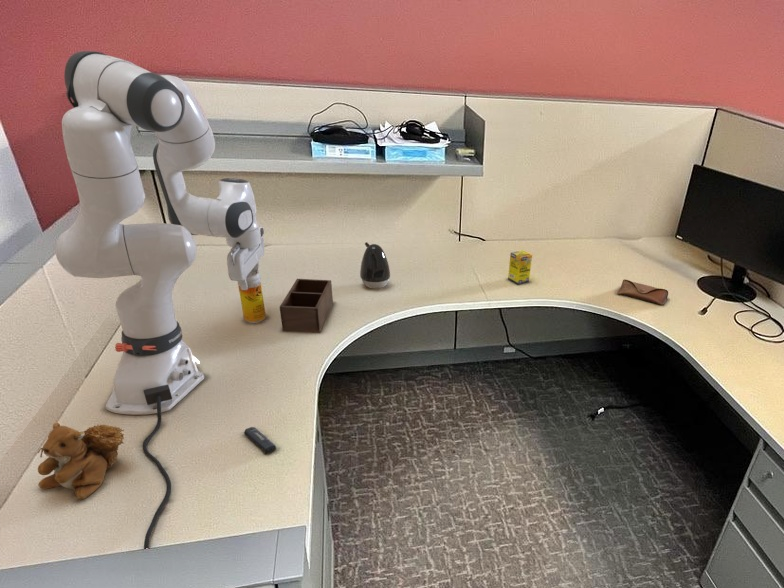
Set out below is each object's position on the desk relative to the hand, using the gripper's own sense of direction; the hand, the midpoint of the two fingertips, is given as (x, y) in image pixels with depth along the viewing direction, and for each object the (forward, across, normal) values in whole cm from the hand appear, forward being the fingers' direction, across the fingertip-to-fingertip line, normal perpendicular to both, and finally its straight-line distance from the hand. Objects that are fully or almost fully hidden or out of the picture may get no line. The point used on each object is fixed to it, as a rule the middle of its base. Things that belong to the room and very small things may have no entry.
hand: (250, 282), depth 164 cm
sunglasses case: (+12, +31, -130) cm, 134 cm away
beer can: (+12, -1, 0) cm, 12 cm away
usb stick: (+11, -58, -18) cm, 61 cm away
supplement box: (+12, +40, -84) cm, 94 cm away
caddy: (+12, +3, -15) cm, 19 cm away
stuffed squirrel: (+11, -69, +11) cm, 70 cm away
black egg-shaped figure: (+12, +29, -32) cm, 45 cm away
